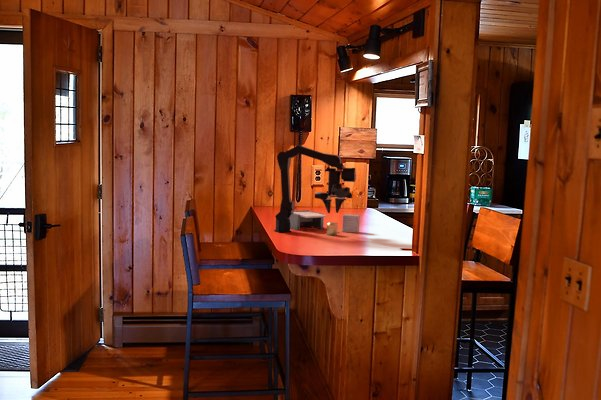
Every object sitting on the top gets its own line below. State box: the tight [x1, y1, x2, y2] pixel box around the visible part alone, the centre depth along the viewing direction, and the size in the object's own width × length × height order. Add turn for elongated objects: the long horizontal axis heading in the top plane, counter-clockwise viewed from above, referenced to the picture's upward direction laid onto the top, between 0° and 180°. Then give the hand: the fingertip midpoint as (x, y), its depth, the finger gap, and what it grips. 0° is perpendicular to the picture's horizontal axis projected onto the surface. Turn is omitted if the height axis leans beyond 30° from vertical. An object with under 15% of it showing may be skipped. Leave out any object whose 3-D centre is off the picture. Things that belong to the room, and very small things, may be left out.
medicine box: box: [341, 213, 360, 234], centre depth 335 cm, size 8×4×9 cm, turn 74°
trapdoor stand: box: [289, 209, 325, 231], centre depth 344 cm, size 16×15×8 cm
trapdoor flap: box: [294, 211, 328, 222], centre depth 340 cm, size 12×18×5 cm
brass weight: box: [326, 221, 338, 237], centre depth 323 cm, size 5×5×6 cm
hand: (333, 213), depth 322 cm, fingers open, 4 cm apart
